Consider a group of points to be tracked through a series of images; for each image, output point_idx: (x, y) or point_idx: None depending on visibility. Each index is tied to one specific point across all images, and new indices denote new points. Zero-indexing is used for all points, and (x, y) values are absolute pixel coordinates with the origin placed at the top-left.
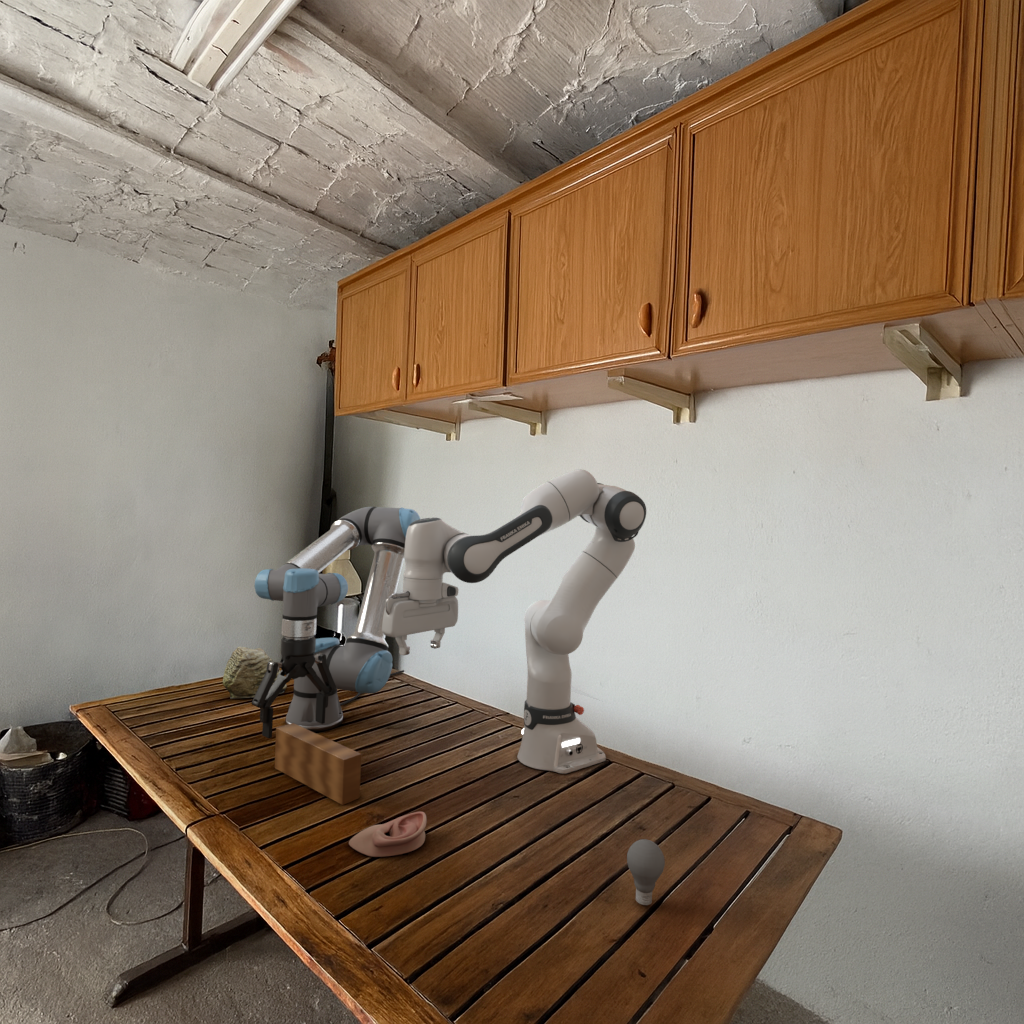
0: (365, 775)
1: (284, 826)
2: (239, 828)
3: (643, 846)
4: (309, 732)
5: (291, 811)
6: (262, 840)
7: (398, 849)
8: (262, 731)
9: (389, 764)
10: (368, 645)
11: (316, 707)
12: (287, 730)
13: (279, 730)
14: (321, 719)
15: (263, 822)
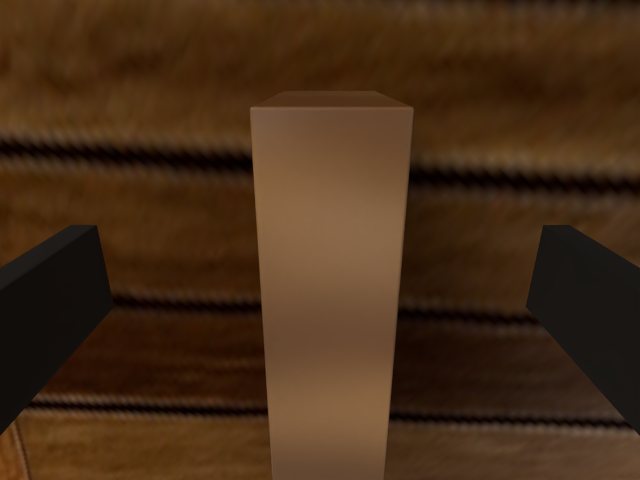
0: (482, 386)
1: (118, 459)
2: None
3: None
4: (371, 352)
5: (167, 415)
6: (47, 474)
7: None
8: (52, 239)
9: None
10: None
11: (618, 283)
12: (285, 224)
13: (254, 160)
14: (543, 314)
15: (78, 413)
